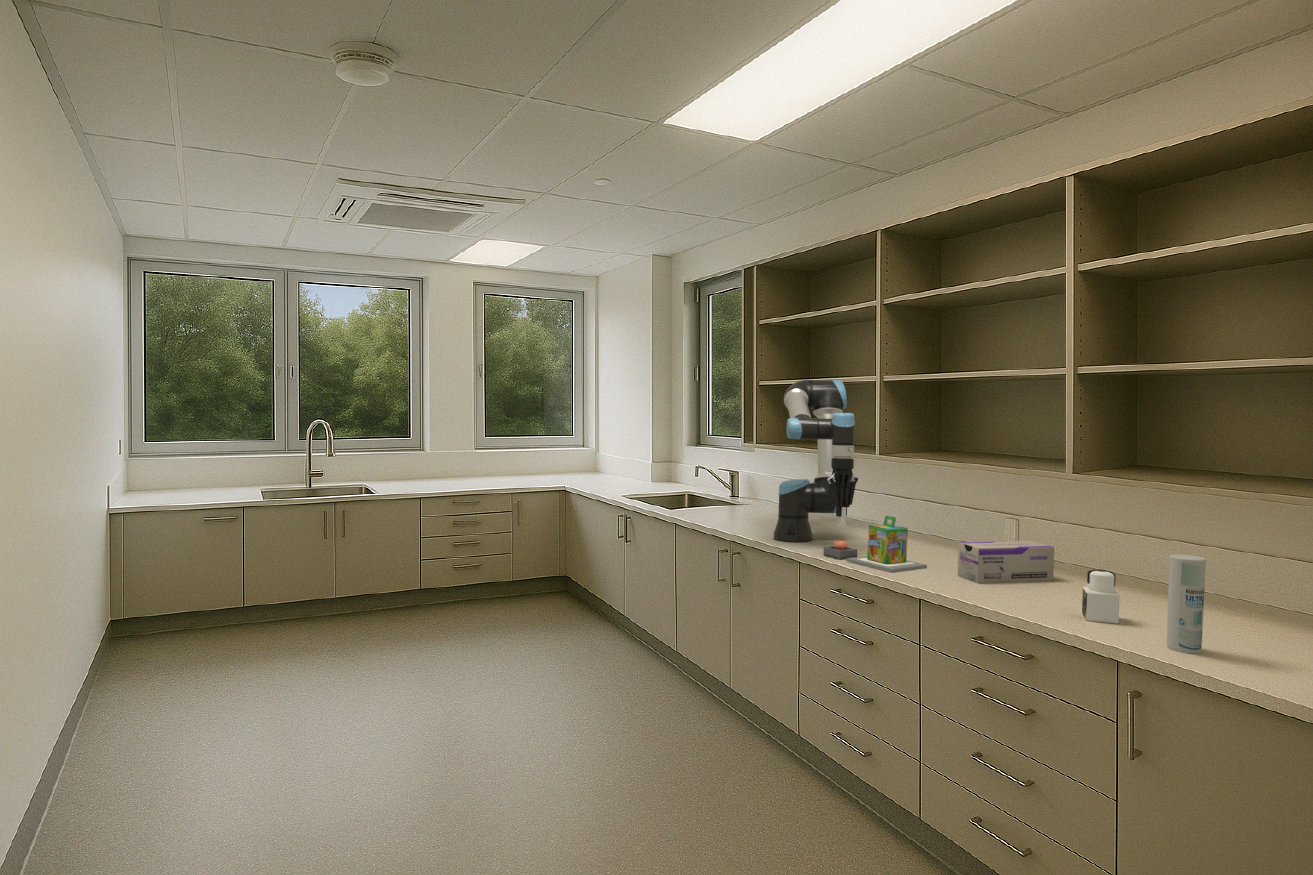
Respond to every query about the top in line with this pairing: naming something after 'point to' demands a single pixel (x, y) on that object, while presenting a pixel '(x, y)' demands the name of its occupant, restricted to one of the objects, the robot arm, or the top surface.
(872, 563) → the board
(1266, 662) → the top surface
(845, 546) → the button
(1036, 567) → the surgical sutures box
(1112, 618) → the medicine bottle
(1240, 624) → the top surface
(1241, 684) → the top surface
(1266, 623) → the top surface
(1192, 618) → the spray can
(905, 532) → the chalk box
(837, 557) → the button housing
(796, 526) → the robot arm
